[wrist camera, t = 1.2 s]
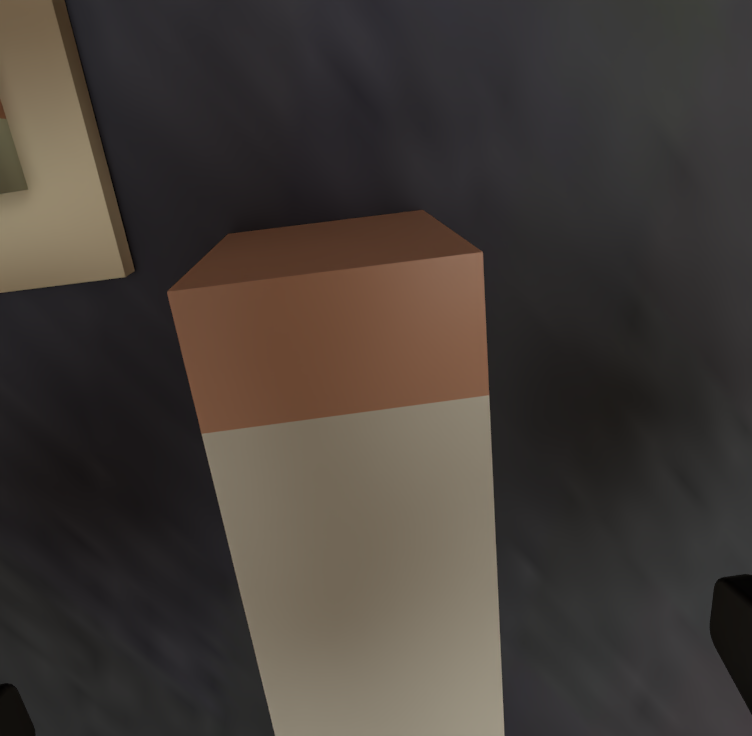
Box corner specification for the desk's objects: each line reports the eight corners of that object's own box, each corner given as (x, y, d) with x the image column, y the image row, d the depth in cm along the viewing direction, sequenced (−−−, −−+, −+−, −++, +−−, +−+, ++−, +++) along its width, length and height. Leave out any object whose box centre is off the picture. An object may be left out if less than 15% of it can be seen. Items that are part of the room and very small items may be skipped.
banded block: (450, 563, 15) (504, 745, 11) (298, 585, 15) (286, 779, 11) (422, 209, 12) (482, 252, 8) (228, 234, 12) (166, 291, 7)
